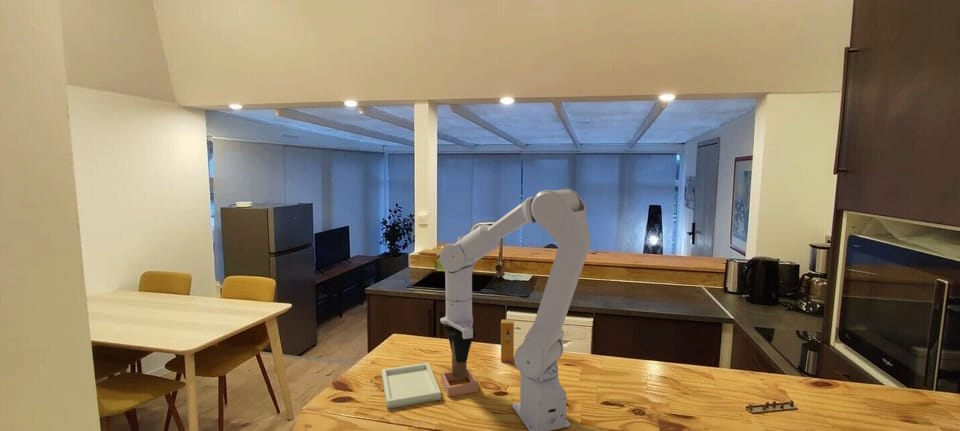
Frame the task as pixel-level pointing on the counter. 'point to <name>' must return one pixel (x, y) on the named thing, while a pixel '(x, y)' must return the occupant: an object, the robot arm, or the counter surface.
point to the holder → (459, 388)
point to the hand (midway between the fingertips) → (459, 358)
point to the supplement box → (507, 341)
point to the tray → (409, 385)
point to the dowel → (458, 367)
